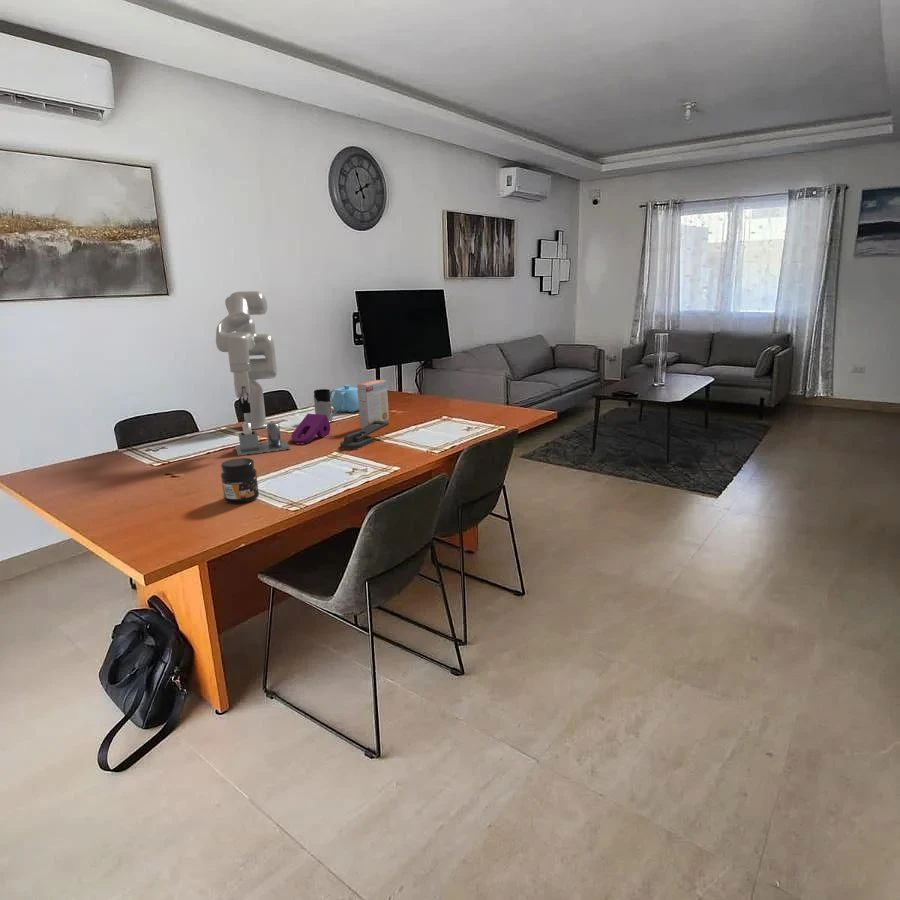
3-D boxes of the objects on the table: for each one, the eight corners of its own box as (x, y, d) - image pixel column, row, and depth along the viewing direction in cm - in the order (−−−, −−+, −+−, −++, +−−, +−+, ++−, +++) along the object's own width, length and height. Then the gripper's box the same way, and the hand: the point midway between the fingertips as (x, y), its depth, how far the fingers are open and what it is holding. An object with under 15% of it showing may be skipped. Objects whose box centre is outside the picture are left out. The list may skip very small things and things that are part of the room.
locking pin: (244, 447, 241) (241, 423, 238) (253, 446, 242) (250, 422, 240) (245, 449, 238) (242, 424, 236) (253, 448, 239) (251, 423, 237)
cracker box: (380, 423, 283) (377, 379, 277) (389, 424, 280) (387, 380, 274) (359, 429, 272) (356, 383, 267) (369, 430, 269) (366, 384, 263)
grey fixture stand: (235, 448, 244) (232, 424, 241) (285, 442, 251) (283, 419, 248) (238, 456, 233) (235, 431, 230) (290, 449, 241) (287, 425, 238)
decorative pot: (338, 415, 301) (336, 389, 297) (328, 409, 315) (326, 384, 311) (368, 411, 308) (367, 385, 305) (357, 406, 322) (356, 381, 318)
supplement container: (225, 507, 180) (220, 469, 177) (223, 496, 189) (218, 460, 186) (261, 501, 184) (257, 464, 181) (257, 491, 193) (253, 455, 190)
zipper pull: (390, 421, 256) (353, 434, 236) (391, 436, 258) (354, 451, 238) (374, 419, 261) (336, 432, 240) (375, 434, 263) (337, 448, 242)
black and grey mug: (316, 419, 293) (313, 389, 289) (345, 418, 294) (343, 388, 290) (314, 423, 284) (311, 392, 280) (344, 422, 286) (342, 391, 282)
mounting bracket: (312, 456, 251) (332, 430, 264) (306, 441, 246) (326, 414, 258) (293, 455, 255) (313, 428, 267) (287, 440, 249) (307, 413, 262)
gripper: (228, 364, 237) (233, 406, 242) (231, 371, 222) (237, 416, 227) (248, 363, 240) (252, 404, 245) (252, 370, 225) (257, 414, 230)
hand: (245, 410), depth 236 cm, fingers open, 9 cm apart
